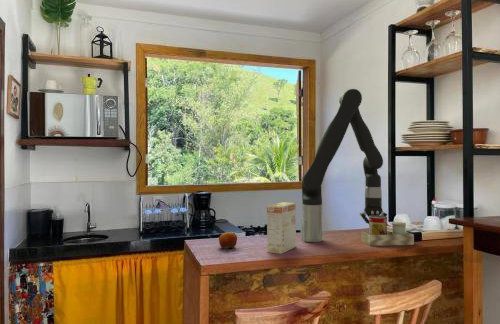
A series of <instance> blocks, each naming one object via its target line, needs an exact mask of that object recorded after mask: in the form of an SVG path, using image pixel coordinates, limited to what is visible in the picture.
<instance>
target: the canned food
mask: <svg viewBox="0 0 500 324" xmlns="http://www.w3.org/2000/svg"><path fill="white" fill-rule="evenodd" d="M368 220H369V224H368V234H369V235H387V231H388V216H381V214H380V215H378V216H376V215H374V216H369V217H368Z"/></svg>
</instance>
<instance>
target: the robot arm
mask: <svg viewBox="0 0 500 324" xmlns="http://www.w3.org/2000/svg"><path fill="white" fill-rule="evenodd" d="M362 96H363V95H362V92H361V91H359V90H358V89H356V88H349V89H346V90H345V91H344V92H342V93H341V94H340V96H339V99H338V101H339V102H338V103H339V107H338V109H337V112H336V114H335V115H334V116H333V119H332V120H331V121H330V122H329V124H328V126H326V128H325V130H324V132H323V134H322V136H321V138H320V140H319V143H318V146H317V149H316V152H315V154H314V155H315V156H314V158H313V161H312V163H311V164H310V166H309V168H308V170H307V171H306V172H305V173H303V175H302V178H301V200H302V202H301V203H302V218H301V240H302V241H303V242H307V243H308V242H309V243H320V242H322V241H323V198H322V196H323V195H322V184H323V182H324V179H325V177H326V176H325V175H326V173H327V170H328V168H329V166H330V164H331V162H332V160H333V159H334V157H335V156H336V153H337V152H338V150H339V147H340V146H341V144H342V142H343V139H344V137H345V135H346V133H347V130H348V128H349V125H350V126H351V129H352V131H353V134H354V136H355V138H356V142H357V144H358V147H359V149H360V152H363V153H364V155H365V156H364V158H363V161H362V167H363V173H364V177H365V182H364V184H365V190H364V210H363V211H362V212H359V216H360V217H361V219H363V222H365V224H368V225H369V216H374V215H376V216H378V215H381V216H386V217H388V216H387V215H388V213H386V212H385V211H383V207H382V204H383V201H382V177H381V175H380V174H379V171H378V170H379V169H381V168H382V167H383V165H384V159H383V156H382V154H381V152H380V151H379V149H378V147H377V146H376V144H375V141H374V138H373V136H372V133H371V131H370V129H369V127H368V125H367V124H366V122H365V121H364V119H363V118H362V114H361V112H360V109H359V107H360V105H361V104H362V101H363V97H362ZM367 216H368V218H367Z"/></svg>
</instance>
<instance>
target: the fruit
mask: <svg viewBox="0 0 500 324" xmlns="http://www.w3.org/2000/svg"><path fill="white" fill-rule="evenodd" d="M218 242H219V245H220V247H221V248H222V249H226V250H228V249H229V248H232V249H236V245H237V242H238V236H237V234H236V233H234V232H230V231H228V232H227V231H226V232H223V233H222V234H221V235H220V236H218Z"/></svg>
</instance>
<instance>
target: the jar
mask: <svg viewBox="0 0 500 324" xmlns="http://www.w3.org/2000/svg"><path fill="white" fill-rule="evenodd" d="M391 224H392V233H393V234H396V235H406V232H407V230H406V229H407V228H406V225H407V224H406V222H403V221H394V222H393V221H392V223H391Z"/></svg>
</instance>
